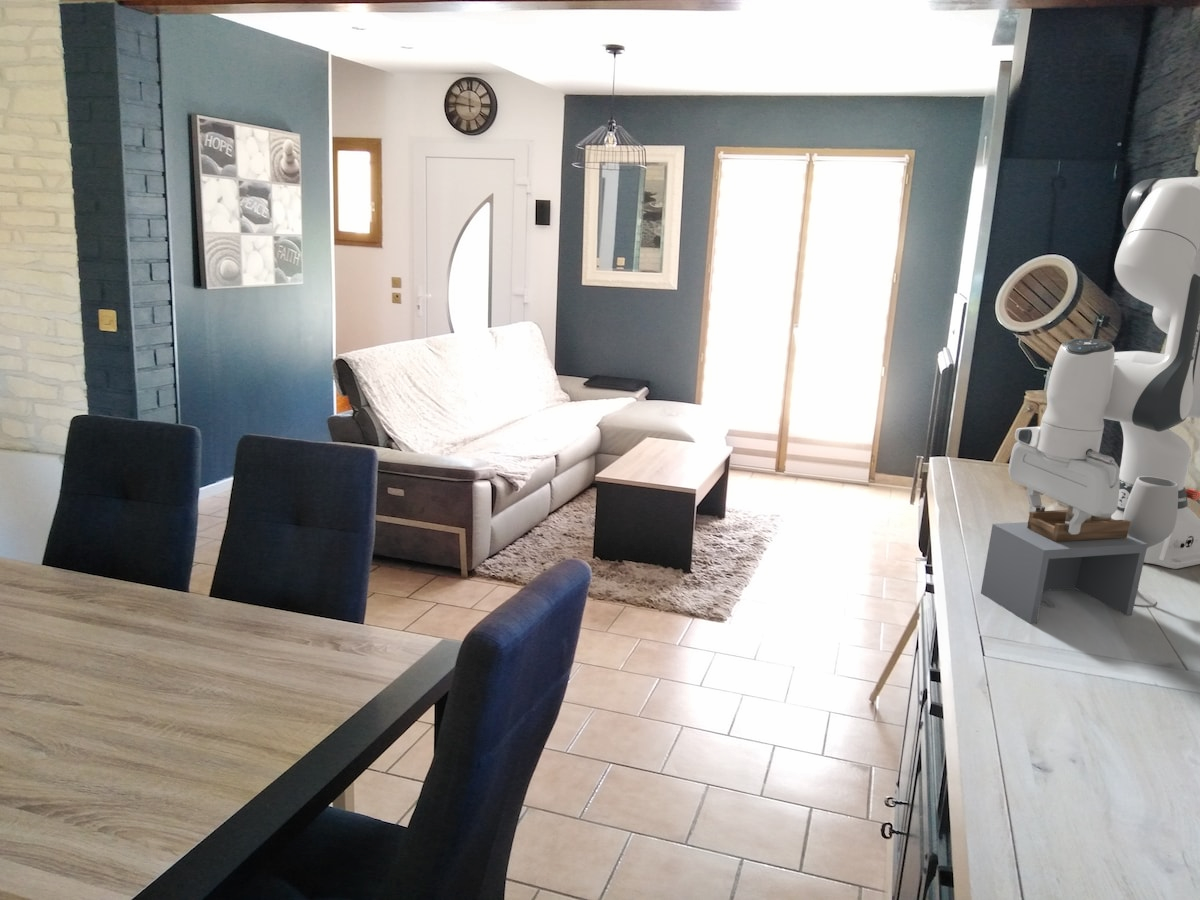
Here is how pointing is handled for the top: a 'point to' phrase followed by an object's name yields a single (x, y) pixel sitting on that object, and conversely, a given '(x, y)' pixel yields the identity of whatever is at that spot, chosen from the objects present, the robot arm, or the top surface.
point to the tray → (1090, 529)
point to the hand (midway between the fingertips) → (1053, 524)
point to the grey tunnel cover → (1059, 569)
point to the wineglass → (1151, 516)
